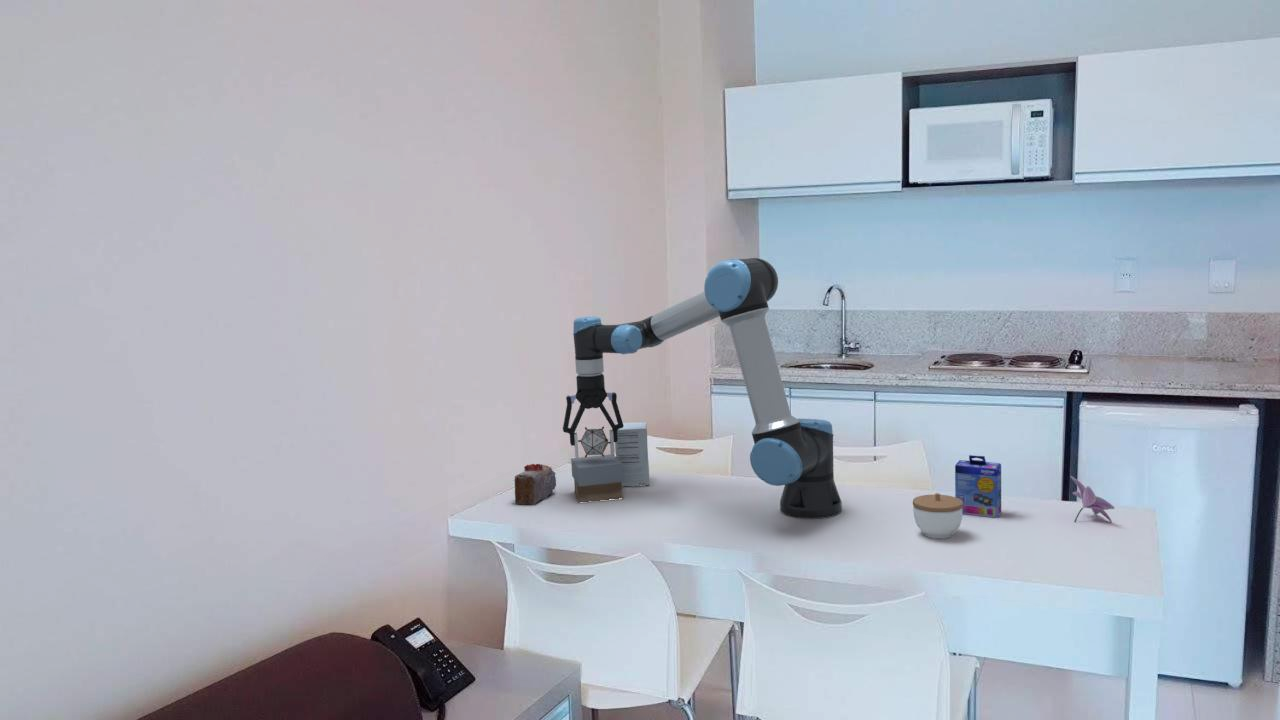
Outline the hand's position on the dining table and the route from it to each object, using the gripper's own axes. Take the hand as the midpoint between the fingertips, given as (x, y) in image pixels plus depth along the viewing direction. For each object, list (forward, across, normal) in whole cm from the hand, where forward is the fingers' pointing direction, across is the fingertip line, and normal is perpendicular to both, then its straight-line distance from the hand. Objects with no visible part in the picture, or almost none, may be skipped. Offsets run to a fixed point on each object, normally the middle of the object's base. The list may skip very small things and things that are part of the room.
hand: (594, 455), depth 249 cm
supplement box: (+12, -12, -11) cm, 20 cm away
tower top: (+7, 0, -1) cm, 7 cm away
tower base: (+12, 0, 0) cm, 12 cm away
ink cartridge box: (+12, -88, +44) cm, 99 cm away
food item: (+12, +17, -3) cm, 21 cm away
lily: (+12, -109, +56) cm, 123 cm away
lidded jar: (+12, -72, +56) cm, 92 cm away
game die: (0, 0, 0) cm, 0 cm away
